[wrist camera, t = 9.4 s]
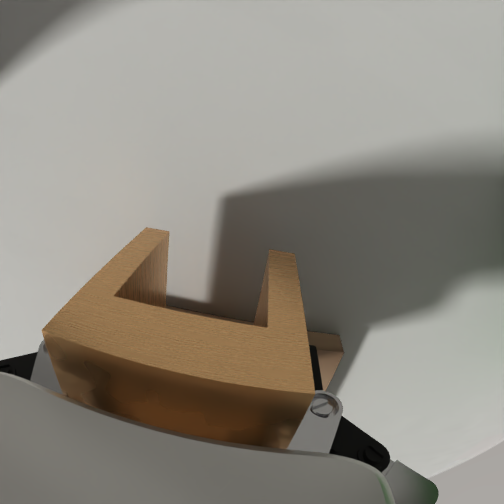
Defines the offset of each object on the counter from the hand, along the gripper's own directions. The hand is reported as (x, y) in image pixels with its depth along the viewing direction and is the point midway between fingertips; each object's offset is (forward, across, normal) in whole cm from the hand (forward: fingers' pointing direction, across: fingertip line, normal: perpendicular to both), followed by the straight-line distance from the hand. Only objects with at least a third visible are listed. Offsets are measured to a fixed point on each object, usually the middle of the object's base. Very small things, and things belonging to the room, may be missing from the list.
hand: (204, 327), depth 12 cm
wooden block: (+1, 0, 0) cm, 1 cm away
